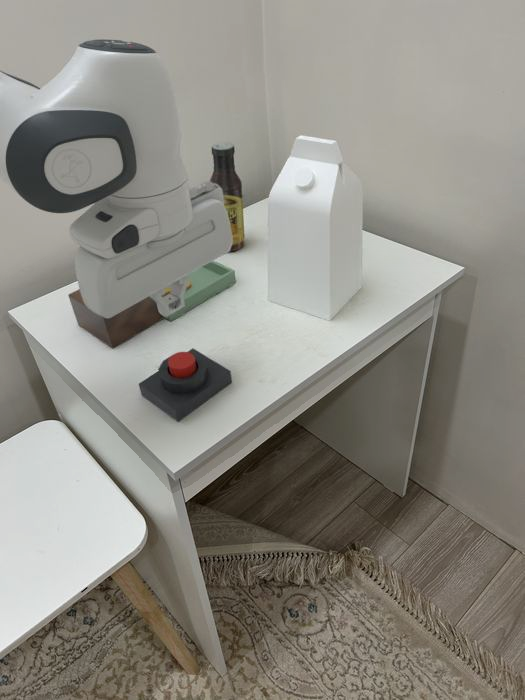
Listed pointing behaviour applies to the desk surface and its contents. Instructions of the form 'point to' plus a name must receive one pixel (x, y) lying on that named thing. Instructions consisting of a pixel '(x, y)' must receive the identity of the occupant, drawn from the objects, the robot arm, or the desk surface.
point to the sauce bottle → (229, 189)
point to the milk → (315, 230)
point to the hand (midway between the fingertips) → (172, 310)
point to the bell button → (182, 364)
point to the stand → (116, 320)
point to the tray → (204, 286)
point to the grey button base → (185, 386)
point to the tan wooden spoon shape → (167, 290)
